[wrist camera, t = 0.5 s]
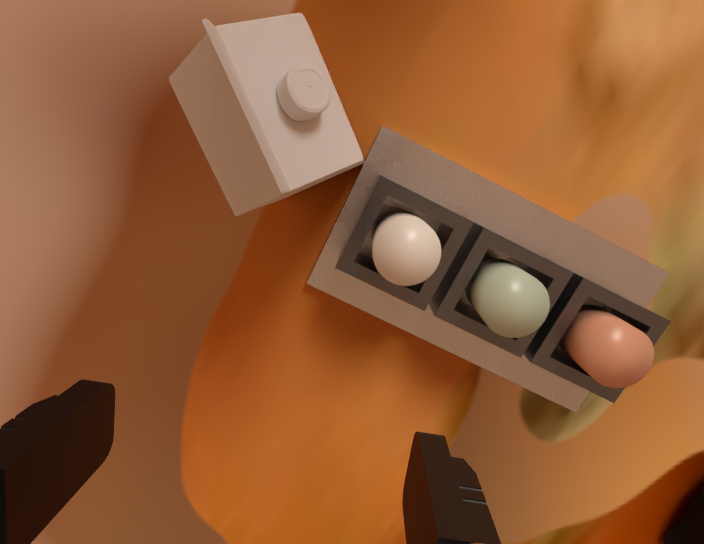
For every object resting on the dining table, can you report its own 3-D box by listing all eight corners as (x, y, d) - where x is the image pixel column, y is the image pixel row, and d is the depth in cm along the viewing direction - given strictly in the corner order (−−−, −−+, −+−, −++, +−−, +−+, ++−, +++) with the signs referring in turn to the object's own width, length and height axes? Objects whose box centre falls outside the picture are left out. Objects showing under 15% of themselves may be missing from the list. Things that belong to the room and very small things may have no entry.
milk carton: (285, 198, 38) (207, 227, 19) (247, 114, 36) (123, 59, 18) (365, 162, 37) (364, 157, 18) (329, 76, 35) (288, -26, 17)
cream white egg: (388, 200, 34) (391, 206, 29) (441, 227, 34) (453, 237, 29) (361, 253, 34) (360, 267, 30) (413, 278, 35) (421, 296, 30)
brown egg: (576, 294, 35) (610, 315, 30) (625, 319, 35) (667, 344, 30) (545, 343, 36) (573, 371, 31) (594, 367, 36) (629, 398, 31)
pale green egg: (483, 248, 34) (503, 262, 29) (535, 274, 34) (562, 291, 30) (455, 299, 35) (469, 320, 30) (505, 323, 35) (527, 348, 30)
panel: (382, 126, 36) (385, 118, 30) (662, 270, 38) (716, 288, 32) (307, 280, 39) (297, 300, 33) (570, 406, 41) (604, 446, 35)
